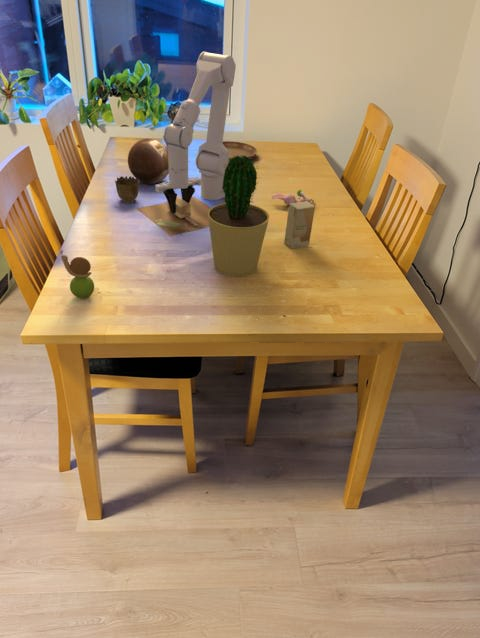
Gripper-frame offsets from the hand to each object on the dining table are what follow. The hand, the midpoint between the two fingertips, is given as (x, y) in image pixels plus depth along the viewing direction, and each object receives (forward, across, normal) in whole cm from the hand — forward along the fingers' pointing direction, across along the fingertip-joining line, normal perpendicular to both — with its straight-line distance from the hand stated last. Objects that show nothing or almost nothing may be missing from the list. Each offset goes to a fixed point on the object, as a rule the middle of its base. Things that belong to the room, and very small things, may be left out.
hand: (178, 210), depth 159 cm
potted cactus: (+2, -2, -34) cm, 34 cm away
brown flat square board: (+2, +1, -1) cm, 3 cm away
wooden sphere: (+2, +6, +31) cm, 32 cm away
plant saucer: (+3, +49, +43) cm, 65 cm away
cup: (+2, -9, +17) cm, 19 cm away
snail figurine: (+2, -42, -28) cm, 51 cm away
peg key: (+1, 0, -3) cm, 3 cm away
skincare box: (+2, +21, -32) cm, 38 cm away
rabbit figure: (+3, +39, -9) cm, 40 cm away
